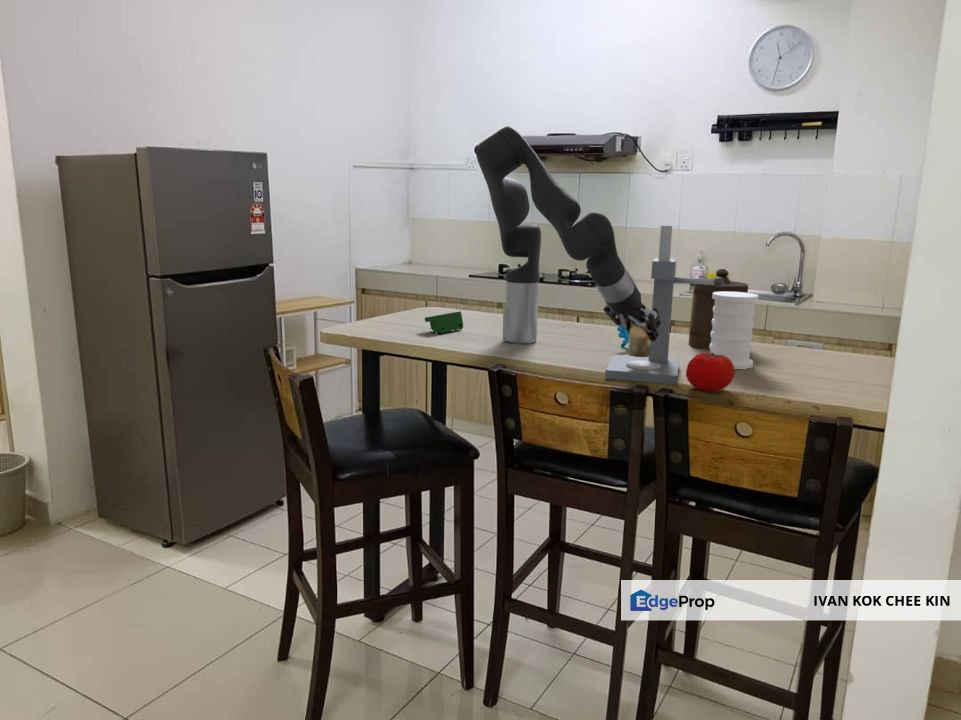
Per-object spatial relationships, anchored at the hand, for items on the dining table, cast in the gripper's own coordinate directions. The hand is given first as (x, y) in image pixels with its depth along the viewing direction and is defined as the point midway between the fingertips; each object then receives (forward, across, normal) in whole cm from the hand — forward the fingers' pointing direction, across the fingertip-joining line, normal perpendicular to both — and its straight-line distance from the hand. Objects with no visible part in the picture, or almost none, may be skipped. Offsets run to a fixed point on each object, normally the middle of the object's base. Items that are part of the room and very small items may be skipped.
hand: (645, 336), depth 170 cm
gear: (+24, -20, +10) cm, 33 cm away
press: (+10, +3, -4) cm, 11 cm away
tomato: (+7, +17, -6) cm, 20 cm away
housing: (+2, 0, -4) cm, 5 cm away
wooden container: (+39, -7, +26) cm, 48 cm away
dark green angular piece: (+7, -72, -8) cm, 73 cm away
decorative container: (+26, +8, +12) cm, 30 cm away
